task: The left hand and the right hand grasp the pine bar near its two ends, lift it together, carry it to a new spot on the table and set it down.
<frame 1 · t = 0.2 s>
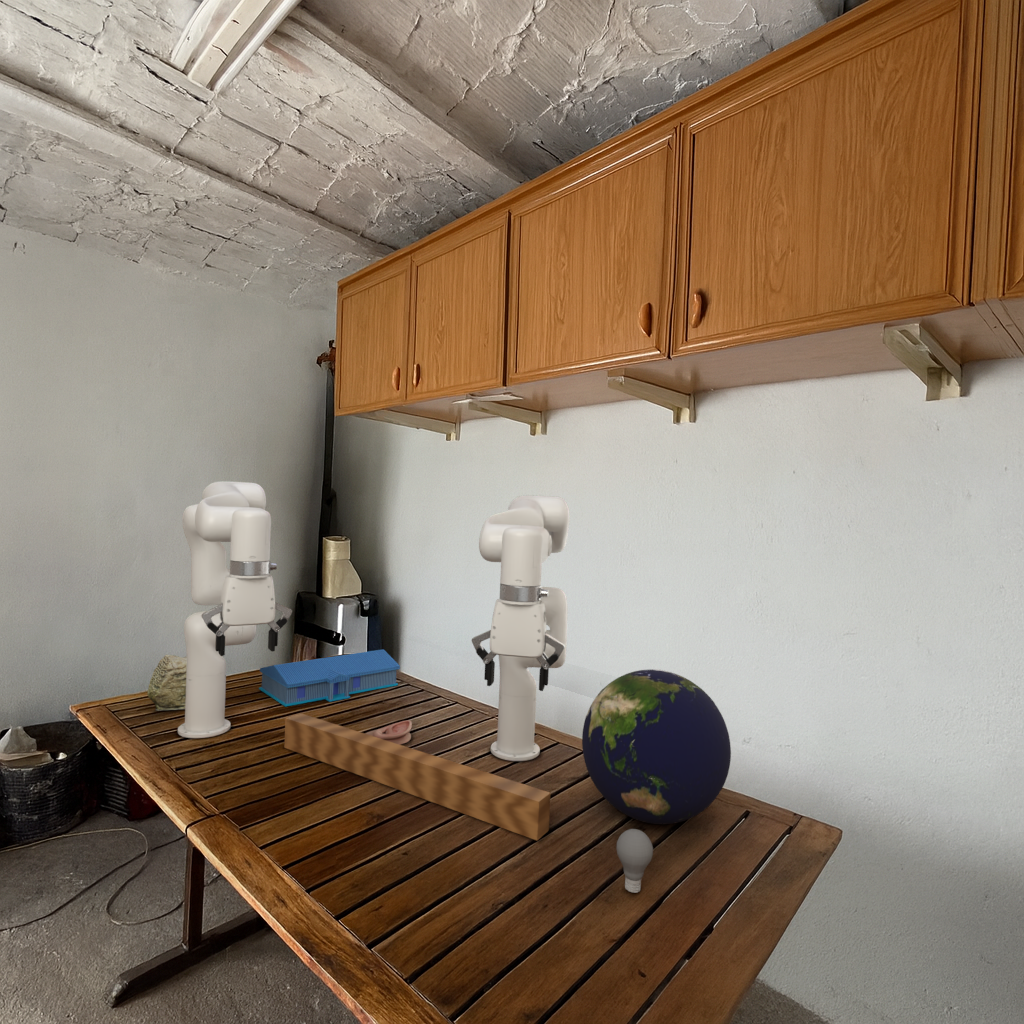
left hand: (246, 652, 130), 31 cm above the table, tool pointing down, fingers open, 9 cm apart
right hand: (515, 686, 117), 30 cm above the table, tool pointing down, fingers open, 9 cm apart
light bulb: (632, 891, 106), on the table
bar: (400, 784, 141), on the table
fossil: (183, 706, 185), on the table
anatomical model: (384, 739, 166), on the table
model building: (332, 688, 208), on the table
globe: (651, 816, 132), on the table
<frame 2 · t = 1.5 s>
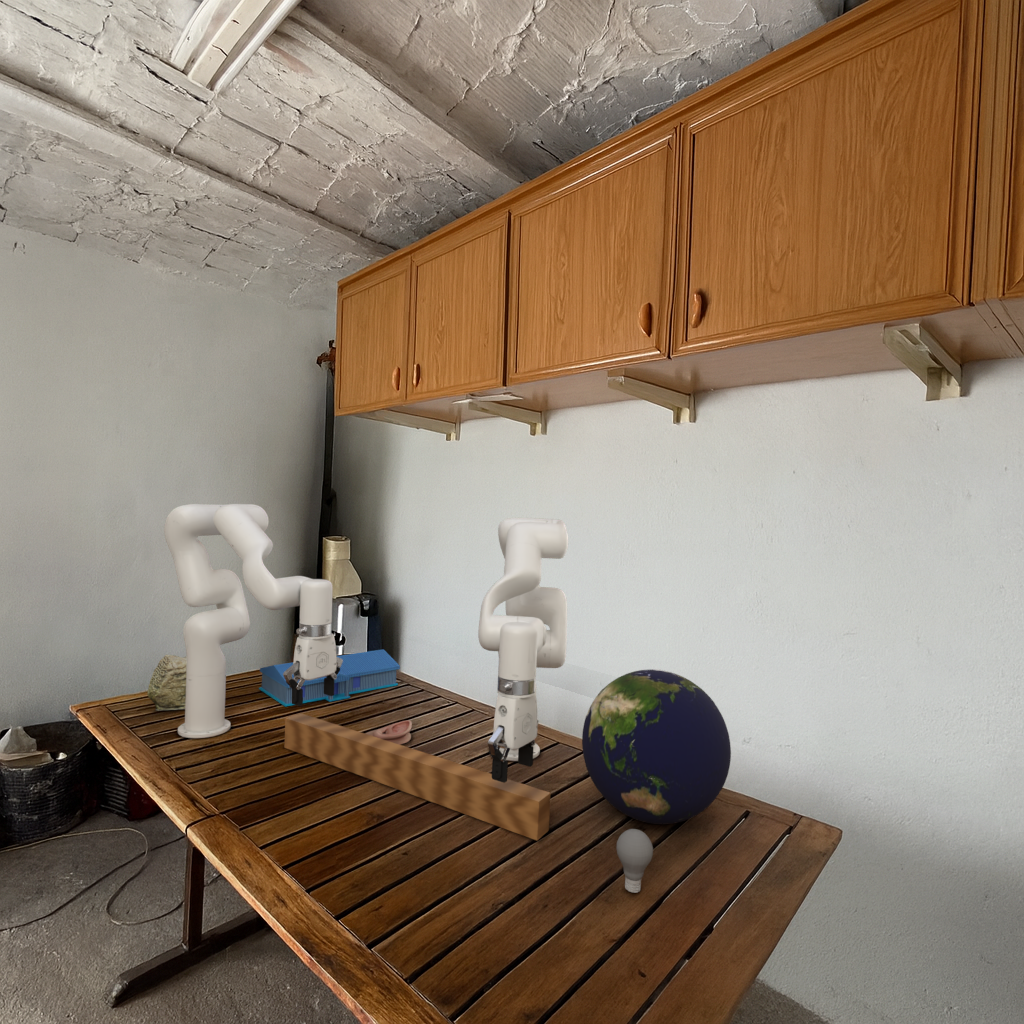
left hand: (313, 699, 155), 13 cm above the table, tool pointing down, fingers open, 9 cm apart
right hand: (512, 772, 125), 11 cm above the table, tool pointing down, fingers open, 9 cm apart
nothing on the table moved.
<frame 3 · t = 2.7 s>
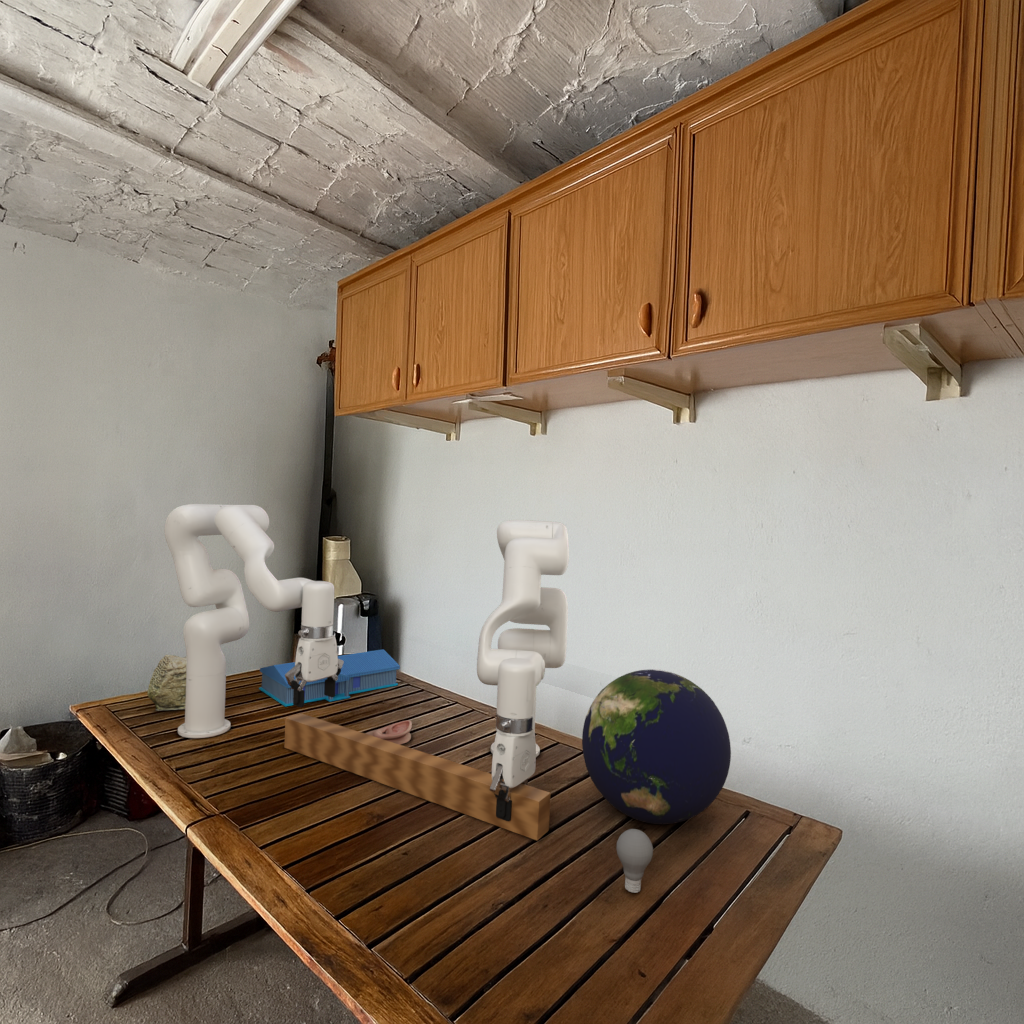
left hand: (314, 700, 156), 13 cm above the table, tool pointing down, fingers open, 9 cm apart
right hand: (510, 812, 126), 2 cm above the table, tool pointing down, fingers closed on bar, 4 cm apart
bar: (400, 784, 141), on the table, touching right hand
everything else where it was.
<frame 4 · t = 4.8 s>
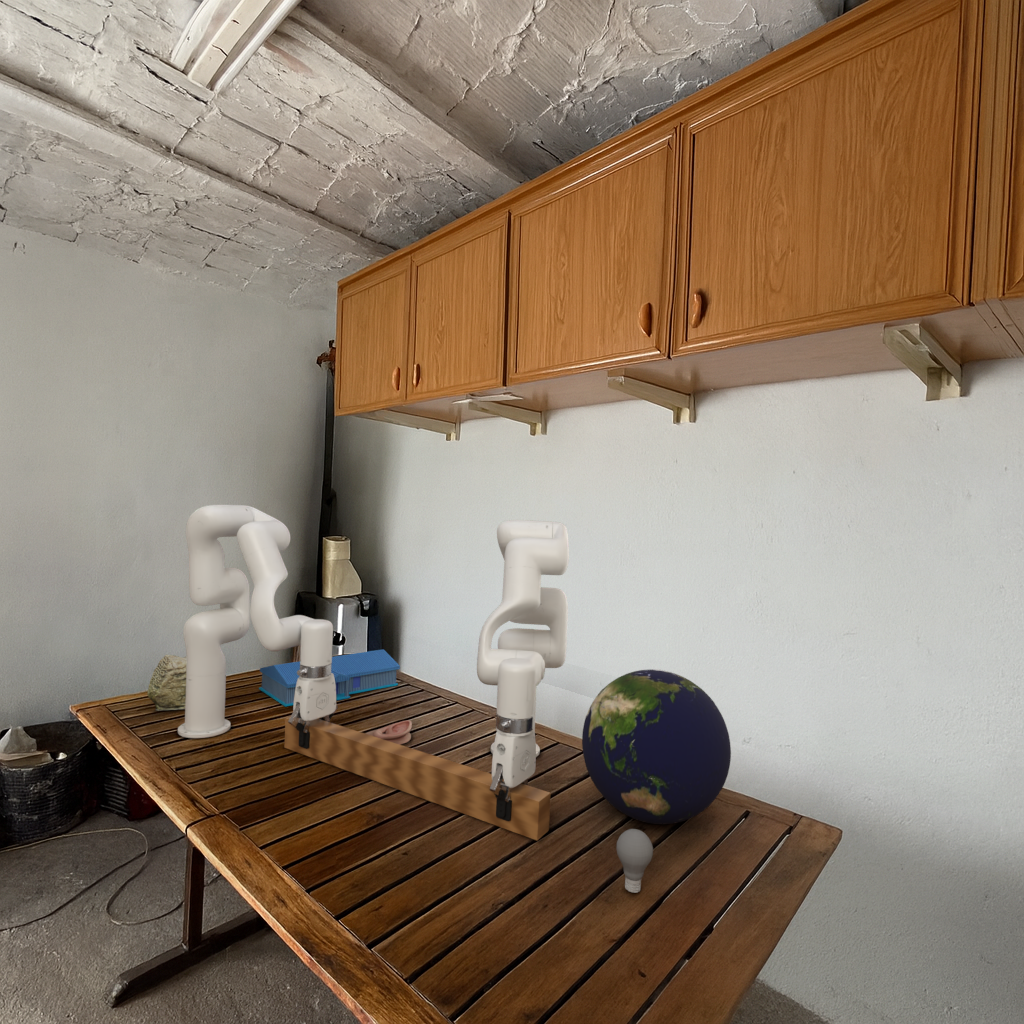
left hand: (312, 743, 156), 2 cm above the table, tool pointing down, fingers closed on bar, 4 cm apart
right hand: (510, 812, 126), 2 cm above the table, tool pointing down, fingers closed on bar, 4 cm apart
bar: (400, 784, 141), on the table, touching left hand, right hand
everything else where it was.
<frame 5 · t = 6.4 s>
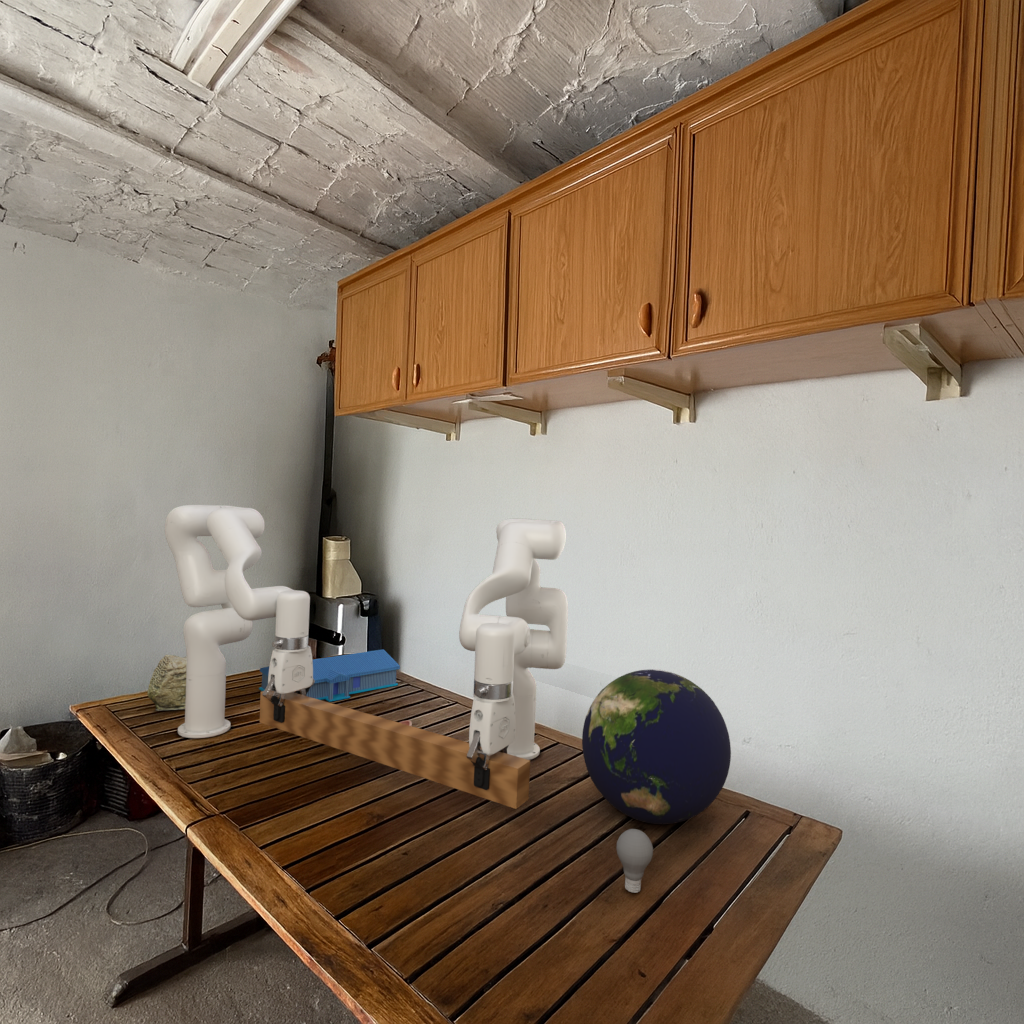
left hand: (288, 717, 152), 10 cm above the table, tool pointing down, fingers closed on bar, 4 cm apart
right hand: (489, 781, 122), 10 cm above the table, tool pointing down, fingers closed on bar, 4 cm apart
bar: (377, 756, 137), point 8 cm above the table, touching left hand, right hand
everything else where it was.
when the left hand's fingers open (4 cm above the table, at t = 8.5 s): bar drops 1 cm, on the table.
when the right hand's fingers open (4 cm above the table, at t = 8.5 s): bar drops 1 cm, on the table.
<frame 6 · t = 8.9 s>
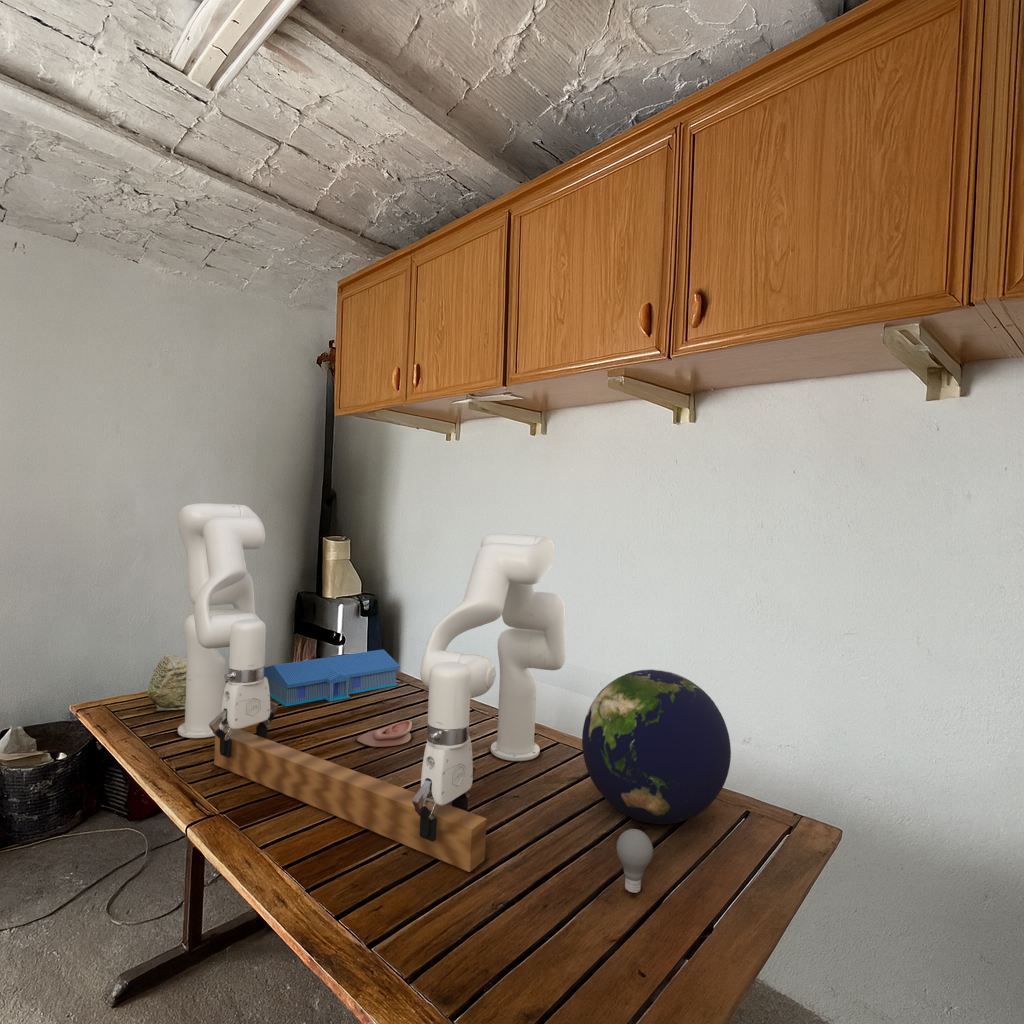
left hand: (243, 749, 145), 5 cm above the table, tool pointing down, fingers open, 8 cm apart
right hand: (443, 827, 114), 5 cm above the table, tool pointing down, fingers open, 8 cm apart
bar: (331, 805, 130), on the table
everything else where it was.
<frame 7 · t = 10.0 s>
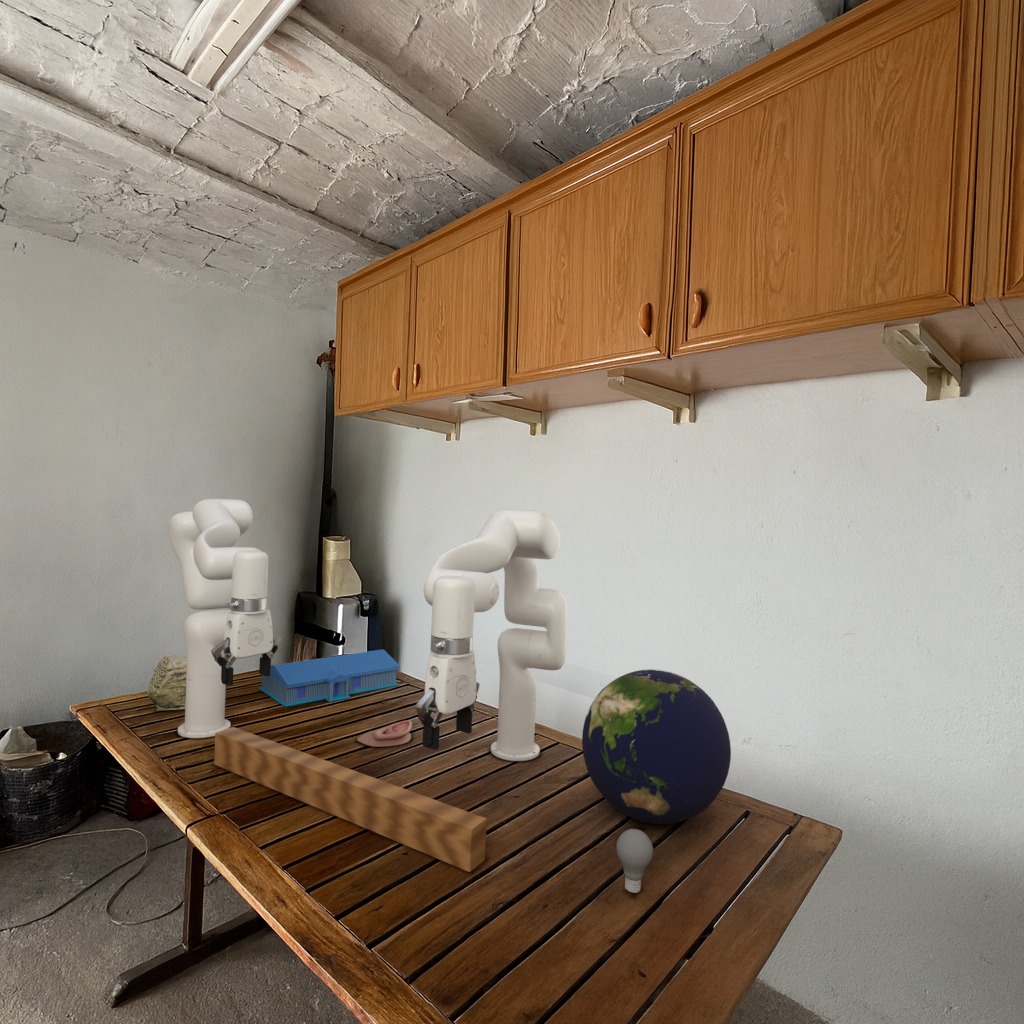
left hand: (246, 679, 145), 21 cm above the table, tool pointing down, fingers open, 9 cm apart
right hand: (447, 739, 114), 21 cm above the table, tool pointing down, fingers open, 9 cm apart
nothing on the table moved.
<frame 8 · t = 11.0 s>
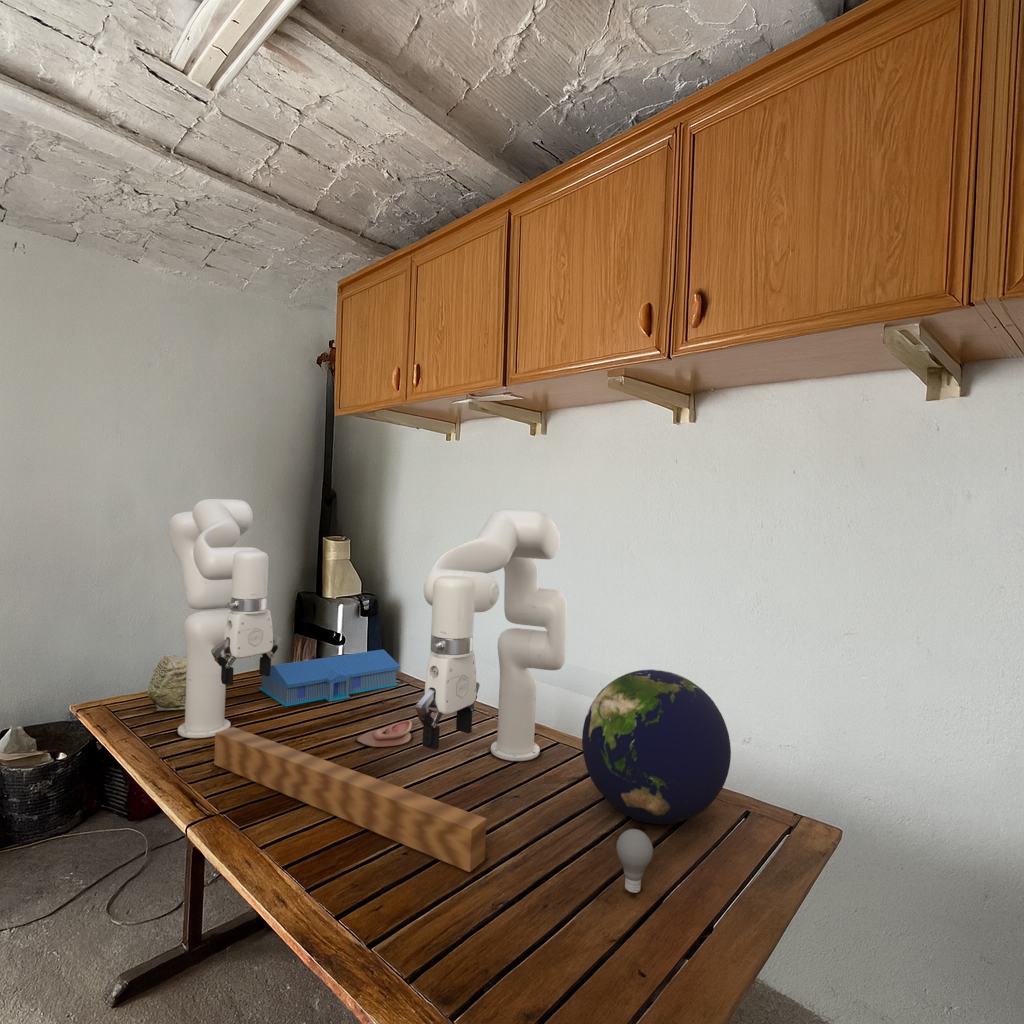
left hand: (246, 679, 145), 21 cm above the table, tool pointing down, fingers open, 9 cm apart
right hand: (447, 739, 114), 21 cm above the table, tool pointing down, fingers open, 9 cm apart
nothing on the table moved.
at the end: bar inside the target area (0.4 cm from its centre), on the table; bar tilted 0°; bar never tilted more than 2° during the clip; both hands held the bar at the same time; the left hand is holding nothing; the right hand is holding nothing; bar at rest at the end (0.0 cm/s) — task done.
